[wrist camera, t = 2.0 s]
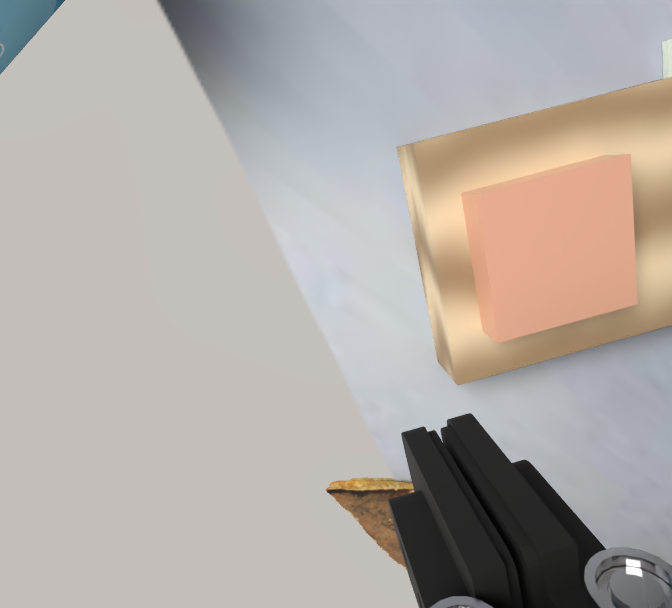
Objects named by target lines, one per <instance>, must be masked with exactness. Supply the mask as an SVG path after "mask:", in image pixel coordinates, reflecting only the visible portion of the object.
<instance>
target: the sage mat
mask: <svg viewBox="0 0 672 608" xmlns="http://www.w3.org/2000/svg"><path fill="white" fill-rule="evenodd" d="M662 57H663V79H665V78H669V77H672V39H670V40H666V41H663V42H662Z"/></svg>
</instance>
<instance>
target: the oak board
mask: <svg viewBox="0 0 672 608" xmlns="http://www.w3.org/2000/svg"><path fill="white" fill-rule="evenodd" d="M397 150H398V156H399V161H400V166H401V171H402V176H403V182H404V187H405V192H406V197H407V202H408V207H409V213H410V218H411V223H412V228H413V233H414V239H415V244H416V249H417V254H418V259H419V265H420V270H421V275H422V280H423V285H424V291H425V296H426V301H427V306H428V311H429V317H430V322H431V327H432V332H433V337H434V343H435V348H436V353H437V358H438V362H439V364H440V365H441V366H442V367H443V368H444V370H445V371H446V372H447V373H448V374H449V376H450V377H451V378H452V379H453V380H454V381H455V383H456V384H457V385H461V384H464V383H468V382H471V381H475V380H478V379H482V378H485V377H489V376H493V375H496V374H500V373H503V372H507V371H510V370H514V369H517V368H521V367H524V366H528V365H532V364H535V363H539V362H542V361H546V360H549V359H553V358H556V357H560V356H563V355H567V354H570V353H574V352H578V351H581V350H585V349H588V348H592V347H595V346H599V345H602V344H606V343H609V342H613V341H617V340H620V339H624V338H627V337H631V336H634V335H638V334H641V333H645V332H648V331H652V330H656V329H659V328H663V327H666V326H670V325H672V77H669V78H665V79H661V80H656V81H652V82H649V83H645V84H641V85H637V86H633V87H629V88H625V89H621V90H617V91H614V92H610V93H606V94H602V95H598V96H594V97H590V98H586V99H582V100H578V101H575V102H571V103H567V104H563V105H559V106H555V107H551V108H547V109H543V110H539V111H536V112H532V113H528V114H524V115H520V116H516V117H512V118H508V119H504V120H500V121H497V122H493V123H489V124H485V125H481V126H477V127H473V128H469V129H465V130H461V131H458V132H454V133H450V134H446V135H442V136H438V137H434V138H430V139H426V140H422V141H419V142H415V143H411V144H407V145H403V146H399V147H397ZM618 154H631V170H632V192H633V214H634V235H635V257H636V279H637V301H638V304H636V305H633V306H629V307H626V308H622V309H618V310H615V311H611V312H608V313H604V314H600V315H597V316H593V317H590V318H586V319H583V320H579V321H575V322H572V323H568V324H565V325H561V326H557V327H554V328H550V329H547V330H543V331H540V332H536V333H532V334H529V335H525V336H522V337H518V338H514V339H511V340H507V341H504V342H500V343H498V342H496V341H495V340H494V339H492V338H491V337H490V336H489V335H487V334H486V333H485V332H483V331H482V325H481V318H480V312H479V306H478V299H477V293H476V286H475V280H474V274H473V267H472V261H471V255H470V248H469V242H468V235H467V229H466V223H465V216H464V210H463V204H462V197H461V193H462V192H466V191H469V190H473V189H477V188H481V187H485V186H488V185H492V184H496V183H500V182H504V181H507V180H511V179H515V178H519V177H523V176H526V175H530V174H534V173H538V172H542V171H545V170H549V169H553V168H557V167H561V166H565V165H568V164H572V163H576V162H580V161H584V160H587V159H591V158H595V157H599V156H603V155H618Z"/></svg>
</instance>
